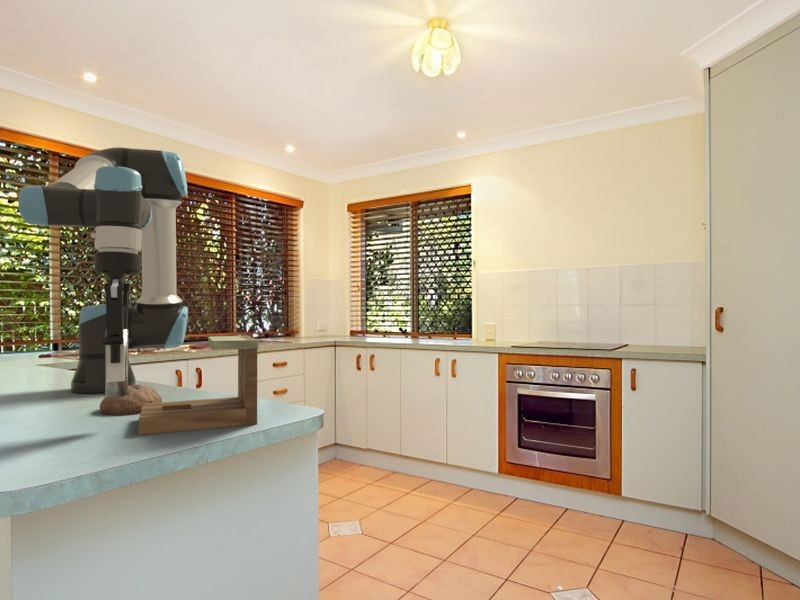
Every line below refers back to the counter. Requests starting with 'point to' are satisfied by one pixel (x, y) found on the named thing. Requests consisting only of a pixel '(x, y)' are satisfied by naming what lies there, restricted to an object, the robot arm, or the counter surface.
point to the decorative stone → (130, 401)
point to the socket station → (210, 410)
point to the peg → (121, 386)
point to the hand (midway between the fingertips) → (117, 379)
